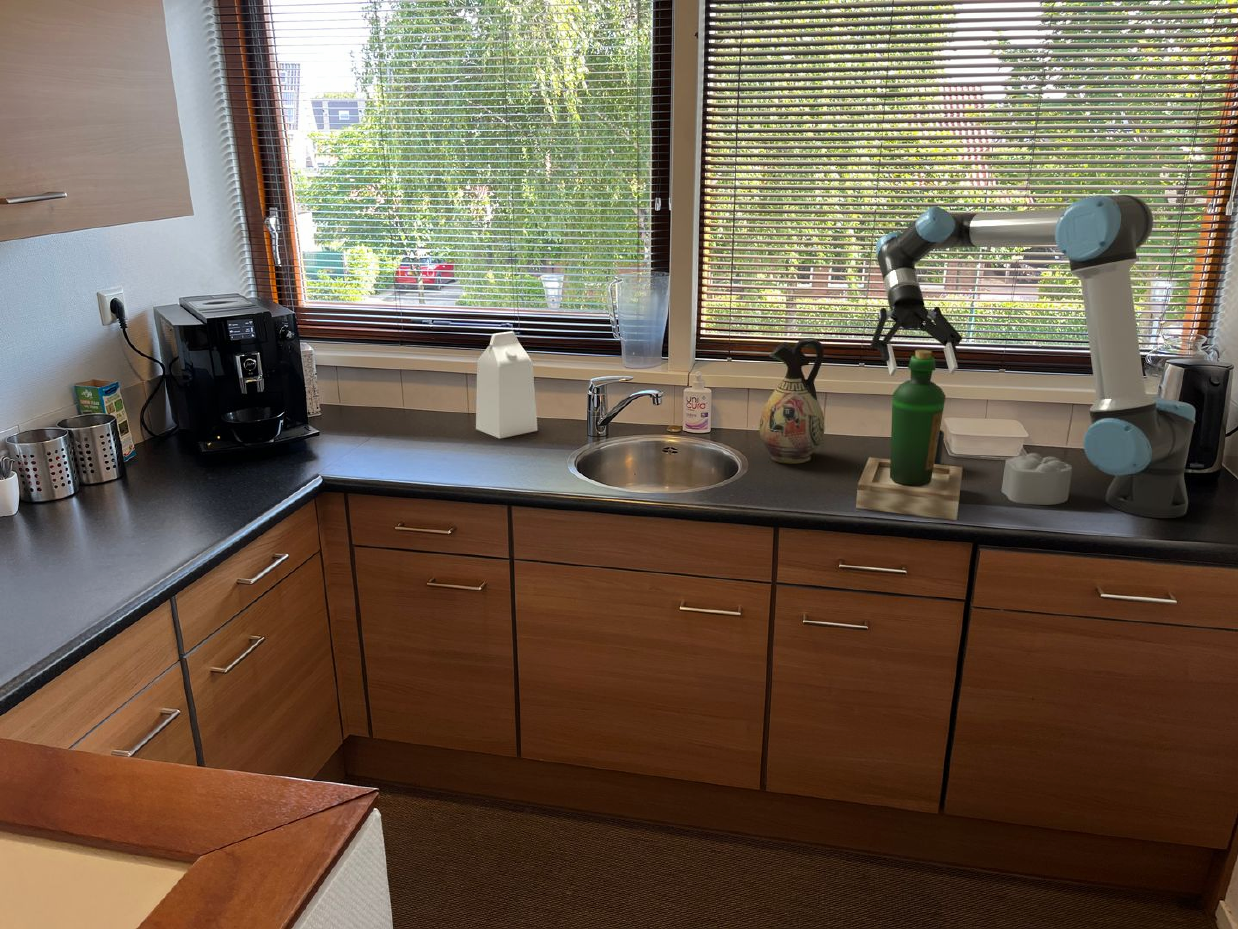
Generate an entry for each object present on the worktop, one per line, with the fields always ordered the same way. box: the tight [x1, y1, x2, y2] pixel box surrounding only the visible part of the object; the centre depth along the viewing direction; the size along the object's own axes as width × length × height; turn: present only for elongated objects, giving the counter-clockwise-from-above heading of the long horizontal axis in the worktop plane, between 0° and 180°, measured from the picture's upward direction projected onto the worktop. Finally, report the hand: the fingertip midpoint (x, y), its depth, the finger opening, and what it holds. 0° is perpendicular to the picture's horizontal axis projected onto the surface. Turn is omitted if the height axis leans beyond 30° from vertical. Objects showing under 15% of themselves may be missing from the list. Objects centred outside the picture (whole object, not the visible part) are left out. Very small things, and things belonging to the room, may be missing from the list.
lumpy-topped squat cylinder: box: [1001, 452, 1073, 506], centre depth 208 cm, size 10×13×9 cm
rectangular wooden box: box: [855, 456, 964, 521], centre depth 206 cm, size 20×20×5 cm
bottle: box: [890, 349, 947, 486], centre depth 202 cm, size 11×11×28 cm
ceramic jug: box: [758, 337, 825, 465], centre depth 229 cm, size 17×15×30 cm
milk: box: [475, 331, 538, 439], centre depth 253 cm, size 12×12×26 cm
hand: (923, 371), depth 211 cm, fingers open, 13 cm apart
